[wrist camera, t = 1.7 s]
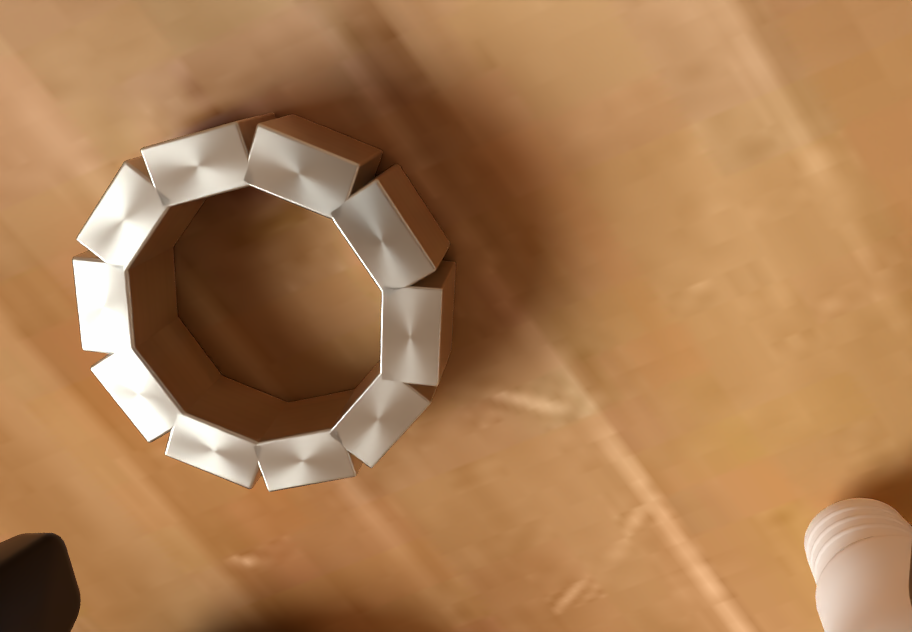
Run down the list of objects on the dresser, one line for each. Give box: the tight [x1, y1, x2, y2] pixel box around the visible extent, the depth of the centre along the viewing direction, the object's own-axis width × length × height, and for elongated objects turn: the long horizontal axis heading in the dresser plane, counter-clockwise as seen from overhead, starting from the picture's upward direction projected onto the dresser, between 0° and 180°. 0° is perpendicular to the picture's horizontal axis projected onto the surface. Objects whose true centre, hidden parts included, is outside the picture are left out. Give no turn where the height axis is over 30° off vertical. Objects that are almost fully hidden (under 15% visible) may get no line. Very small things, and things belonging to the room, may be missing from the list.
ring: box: [72, 113, 456, 492], centre depth 20 cm, size 9×9×2 cm
